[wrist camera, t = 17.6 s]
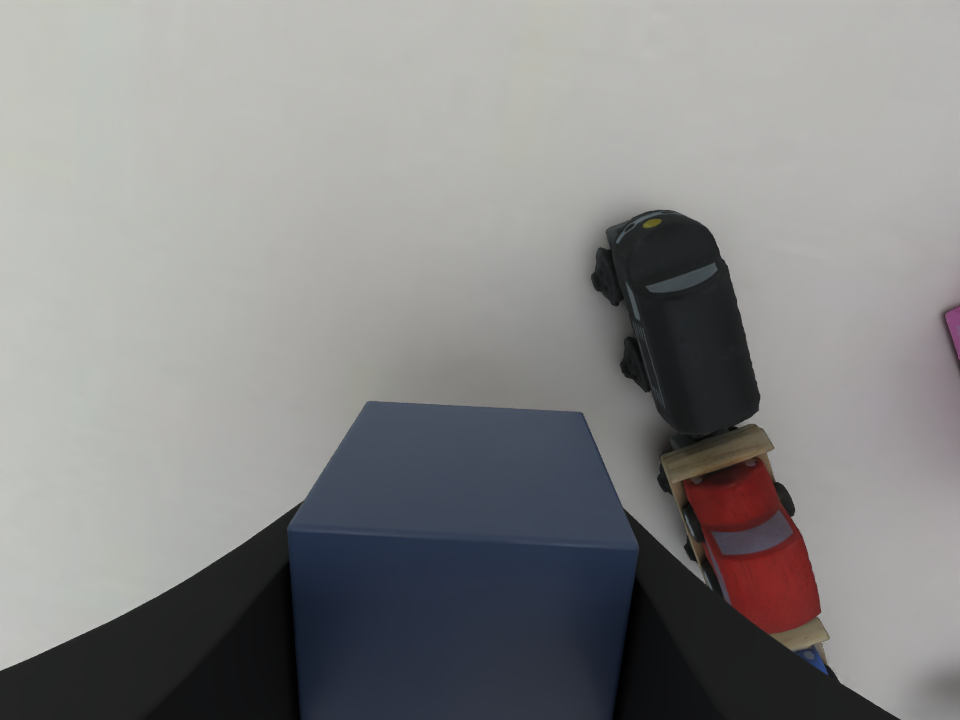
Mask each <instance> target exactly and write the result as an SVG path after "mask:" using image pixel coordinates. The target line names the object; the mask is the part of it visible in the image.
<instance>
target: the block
mask: <svg viewBox="0 0 960 720" xmlns="http://www.w3.org/2000/svg"><path fill="white" fill-rule="evenodd" d="M287 532H288V547H289V562H290V577H291V592H292V607H293V622H294V637H295V652H296V667H297V682H298V697H299V712H300V720H613V714H614V708H615V702H616V695H617V689H618V682H619V676H620V669H621V663H622V656H623V650H624V643H625V637H626V630H627V624H628V617H629V611H630V604H631V598H632V592H633V585H634V579H635V572H636V566H637V559H638V553H639V545H638V542H637V540H636V538H635V535H634V533H633V531H632V528H631V526H630V524H629V521H628V519H627V516H626V514H625V512H624V509H623V507H622V505H621V502H620V500H619V498H618V495H617V493H616V491H615V488H614V486H613V483H612V481H611V479H610V476H609V474H608V472H607V469H606V467H605V465H604V462H603V460H602V458H601V455H600V453H599V450H598V448H597V446H596V443H595V441H594V439H593V436H592V434H591V432H590V429H589V427H588V425H587V422H586V420H585V418H584V415H583V413H581V412H570V411H551V410H532V409H512V408H493V407H474V406H455V405H436V404H417V403H398V402H378V401H368V402H366V404H365V406H364V407H363V409H362V410H361V412H360V413H359V415H358V417H357V418H356V420H355V421H354V423H353V424H352V426H351V428H350V429H349V431H348V432H347V434H346V435H345V437H344V439H343V440H342V442H341V443H340V445H339V446H338V448H337V450H336V451H335V453H334V454H333V456H332V457H331V459H330V461H329V462H328V464H327V465H326V467H325V468H324V470H323V472H322V473H321V475H320V476H319V478H318V479H317V481H316V483H315V484H314V486H313V487H312V489H311V490H310V492H309V494H308V495H307V497H306V498H305V500H304V501H303V503H302V505H301V506H300V508H299V509H298V511H297V512H296V514H295V516H294V517H293V519H292V520H291V522H290V523H289V525H288V528H287Z"/></svg>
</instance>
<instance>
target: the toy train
mask: <svg viewBox="0 0 960 720" xmlns="http://www.w3.org/2000/svg"><path fill="white" fill-rule="evenodd" d="M606 234H607V238H608V242H609V245H610V250H607V249H605V248H601V247H600V248H598V250H597V254H596V267H595V271H594V273H593V274H592V275H591V279H592V283H593V286H594V288H595V290H596V291H599V292H602V293H603V295H604V296H605V297H606V298H608V299H609V300H610V302H611V304H612V305H614V306H616V307H618V306H619V303H620V302H621V301H622V300H623V299H624V300H625V303H626V306H627V309H628V313H629V318H630V322H631V325H632V328H633V332H634V334H635V337H636V338H633V337H626V338H625V340H624V345H625V350H624V358H623V361H621V363H620V367H621V369H622V373H623V374H624V375H625V377H627V378H631V379H633V380H634V381H635V382H636V383H637V384H638V385H639V386H640V387H641V388H642V389H643V390H644V391H645V392H649V391H651V392H652V396H653V398H654V401H655V404H656V408H657V410H658V412H659V413H660V415H661V416H662V417H663V419H664V420H665V421H666V422H668V423H669V424H670V426H671V427H672V428H674V429H675V431H677V432H678V434H675V435H673V436H671V437H670V443H671V446H672V448H673V451H672V452H669V453H664V452H661V453H660V454H659V459H660V468H659V469H660V474H659V475H658V477H657V480H658V483H659V485H660V487H661V489H662V490H663V491H664V492H668V493H670V494H671V495H673V496H674V498H675V500H676V503H677V506H678V509H679V512H680V514H681V517H682V520H683V523H684V526H685V528H686V531H687V544H686V545H685V546H684V549H685V551H686V553H687V555H688V557H689V558H690V560H693V561H696V562H697V563H698V564H699V567H700V569H701V572H702V575H703V577H704V580H705V582H706V585H707V586H708V587H709V588H710V589H711V590H713V591H714V592H715V593H716V594H718V595H719V596H720V597H721V598H722V599H724V600H725V601H726V602H727V603H729V604H730V605H731V606H732V607H733V608H735V609H736V610H737V611H738V612H740V613H741V614H742V615H743V616H745V617H746V618H747V619H749V620H750V621H751V622H753V623H754V624H755V625H756V626H758V627H759V628H760V629H762V630H763V631H765V632H766V633H767V634H769V635H770V636H772V637H773V638H774V639H776V640H777V641H779V642H780V643H781V644H783V645H784V646H786V647H787V648H788V649H790V650H791V651H793V652H794V653H796V654H797V655H798V656H800V657H801V658H803V659H804V660H806V661H807V662H808V663H810V664H812V665H813V666H815V667H816V668H818V669H819V670H821V671H822V672H824V673H825V674H827V675H828V676H830V677H831V678H833V679H834V680H836V681H838V682H839V680H838V679H837V677H836V675H835V674H834V672H833V671H832V670H831V668H830V667H829V666H828V664H827V661H826V657H825V654H824V650H823V646H822V643H821V642H824V641H827V640H828V639H829V638H830V636H829V635H828V633H827V631H826V630H825V628H824V626H823V624H822V623H821V621H820V619H819V618H818V617H816V616H817V615H819V614H820V613H821V608H820V601H819V595H818V590H817V585H816V582H815V578H814V574H813V571H812V566H811V562H810V560H809V558H808V552H807V549H806V546H805V543H804V540H803V537H802V535H801V533H800V531H799V529H798V528H797V527H796V525H795V523H794V522H793V520H792V519H791V517H792V516H794V513H795V508H794V504H793V501H792V499H791V497H790V495H789V493H788V491H787V490H786V489H785V487H784V486H783V485H782V484H780V483H779V482H775V479H774V475H773V472H772V468H771V465H770V462H769V459H768V456H767V453H766V452H769V451H771V450H773V449H774V446H773V444H772V443H771V441H770V439H769V438H768V436H767V434H766V433H765V431H764V430H763V429H762V428H759V427H758V426H757V425H755V424H749V425H746V426H743V427H741V428H737V427H734V425H736V424H739V423H741V422H743V421H744V420H747V419H748V418H750V417H751V416H753V415H754V414H755V413H756V412H757V411H759V401H760V394H759V391H758V387H757V382H756V380H755V374H754V370H753V368H752V362H751V359H750V353H749V350H748V346H747V341H746V334H745V332H744V328H743V326H742V320H741V315H740V312H739V309H738V307H737V299H736V296H735V293H734V289H733V285H732V282H731V279H730V274H729V270H728V266H727V265H726V263H725V261H724V260H723V259H722V258H721V256H720V252H719V248H718V246H717V244H716V241H715V239H714V237H713V235H712V234H711V232H710V231H709V229H707V228H706V227H705V226H704V225H702V224H701V223H699V222H697V221H695V220H693V219H691V218H688V217H687V216H685V215H682V214H680V213H678V212H675V211H671V210H655V211H648V212H645V213H643V214H640V215H638V216H636V217H634V218H632V219H631V220H629V221H626V222H624V223H621V224H618V225H615V226H612V227H610V228H608V229H607V230H606ZM726 428H727V429H726ZM839 683H840V682H839Z"/></svg>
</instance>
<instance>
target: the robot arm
mask: <svg viewBox="0 0 960 720" xmlns="http://www.w3.org/2000/svg"><path fill="white" fill-rule="evenodd" d="M302 503H303V501H302V502H301V503H299V504H298V505H297V506H295V507H294V508H293V509H291V510H290V511H288V512H287V513H286V514H284V515H283V516H282V517H280V518H279V519H277V520H276V521H275V522H273V523H272V524H270V525H269V526H268V527H266V528H265V529H263V530H262V531H260V532H259V533H258V534H256V535H255V536H253V537H252V538H251V539H249V540H248V541H246V542H245V543H243V544H242V545H240V546H239V547H237V548H236V549H234V550H233V551H231V552H229V553H228V554H226V555H225V556H223V557H222V558H220V559H219V560H217V561H215V562H214V563H212V564H211V565H209V566H208V567H206V568H204V569H203V570H201V571H200V572H198V573H197V574H195V575H194V576H192V577H190V578H189V579H187V580H185V581H184V582H182V583H180V584H179V585H177V586H175V587H173V588H172V589H170V590H168V591H166V592H165V593H163V594H161V595H159V596H157V597H156V598H154V599H152V600H150V601H148V602H146V603H144V604H142V605H141V606H139V607H137V608H135V609H133V610H131V611H129V612H128V613H126V614H124V615H122V616H120V617H118V618H116V619H114V620H112V621H110V622H108V623H106V624H104V625H101V626H99V627H97V628H95V629H93V630H91V631H89V632H86V633H84V634H82V635H80V636H78V637H76V638H73V639H71V640H69V641H67V642H65V643H63V644H61V645H58V646H56V647H54V648H52V649H50V650H48V651H45V652H43V653H41V654H39V655H37V656H35V657H32V658H30V659H28V660H25V661H23V662H21V663H18V664H16V665H14V666H11V667H9V668H6V669H4V670H1V671H0V720H300V712H299V697H298V682H297V667H296V652H295V637H294V622H293V607H292V592H291V577H290V562H289V547H288V532H287V528H288V525H289V523H290V522H291V520H292V519H293V517H294V516H295V514H296V512H297V511H298V509H299V508H300V506H301V505H302ZM623 509H624V508H623ZM624 512H625V514H626V516H627V519H628V521H629V524H630V526H631V528H632V531H633V533H634V535H635V538H636V540H637V542H638V545H639V553H638V559H637V566H636V572H635V579H634V585H633V592H632V598H631V604H630V611H629V617H628V624H627V630H626V637H625V643H624V650H623V656H622V663H621V669H620V676H619V682H618V689H617V695H616V702H615V708H614V714H613V720H900V719H899V718H897V717H895V716H893V715H892V714H890V713H888V712H887V711H885V710H883V709H881V708H880V707H878V706H877V705H875V704H873V703H872V702H870V701H869V700H867V699H865V698H864V697H862V696H860V695H859V694H857V693H856V692H854V691H852V690H851V689H849V688H847V687H846V686H844V685H843V684H841V683H839V682H838V681H836V680H834V679H833V678H831V677H830V676H828V675H827V674H825V673H824V672H822V671H821V670H819V669H818V668H816V667H815V666H813V665H812V664H810V663H808V662H807V661H806V660H804V659H803V658H801V657H800V656H798V655H797V654H796V653H794V652H793V651H791V650H790V649H788V648H787V647H786V646H784V645H783V644H781V643H780V642H779V641H777V640H776V639H774V638H773V637H772V636H770V635H769V634H767V633H766V632H765V631H763V630H762V629H760V628H759V627H758V626H756V625H755V624H754V623H753V622H751V621H750V620H749V619H747V618H746V617H745V616H743V615H742V614H741V613H740V612H738V611H737V610H736V609H735V608H733V607H732V606H731V605H730V604H729V603H727V602H726V601H725V600H724V599H722V598H721V597H720V596H719V595H718V594H716V593H715V592H714V591H713V590H711V589H710V588H709V587H708V586H707V585H706V584H704V583H703V582H702V581H701V580H700V579H699V578H698V577H696V576H695V575H694V574H693V573H692V572H691V571H690V570H689V569H687V568H686V567H685V566H684V565H683V564H682V563H681V562H680V561H679V560H678V559H676V558H675V557H674V556H673V555H672V554H671V553H670V552H669V551H668V550H667V549H666V548H665V547H664V546H663V545H661V544H660V543H659V542H658V541H657V540H656V539H655V538H654V537H653V536H652V535H651V534H650V533H649V532H648V531H647V530H646V529H645V528H644V527H643V526H642V525H641V524H640V523H639V522H638V521H637V520H636V519H634V518H633V517H632V516H631V515H630V514H629V513H628V512H627V511H626V510H625V509H624Z"/></svg>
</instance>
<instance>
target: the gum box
mask: <svg viewBox="0 0 960 720" xmlns="http://www.w3.org/2000/svg"><path fill="white" fill-rule="evenodd" d="M945 317H946V320H947V323H948V327H949V330H950V333H951V336H952V339H953V342H954V345H955V348H956V351H957V354H958V357H959V360H960V307H957V308H955V309H953V310H950V311H948V312H947V313H946V315H945Z"/></svg>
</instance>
